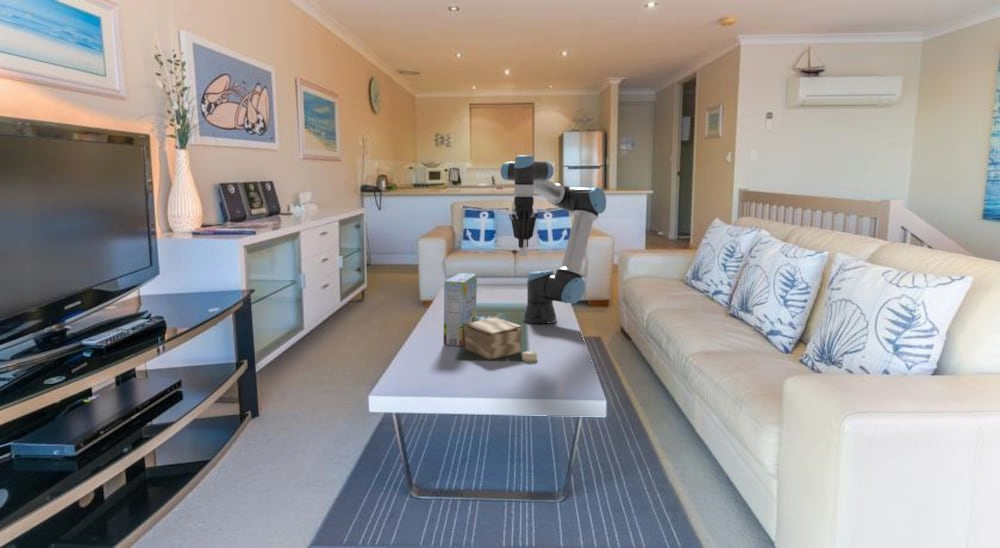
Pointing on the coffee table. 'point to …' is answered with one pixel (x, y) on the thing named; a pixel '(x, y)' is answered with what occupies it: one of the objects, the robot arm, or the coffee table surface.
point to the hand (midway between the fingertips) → (523, 255)
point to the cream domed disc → (529, 356)
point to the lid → (493, 326)
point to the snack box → (459, 307)
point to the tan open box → (493, 343)
